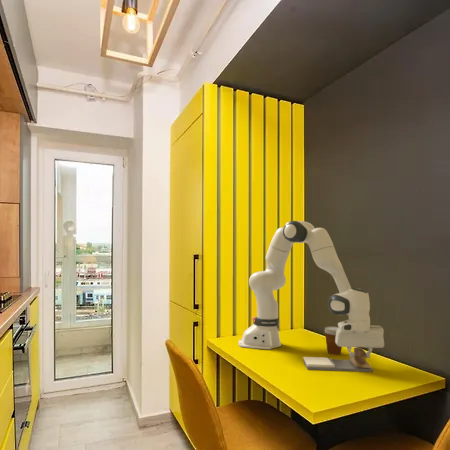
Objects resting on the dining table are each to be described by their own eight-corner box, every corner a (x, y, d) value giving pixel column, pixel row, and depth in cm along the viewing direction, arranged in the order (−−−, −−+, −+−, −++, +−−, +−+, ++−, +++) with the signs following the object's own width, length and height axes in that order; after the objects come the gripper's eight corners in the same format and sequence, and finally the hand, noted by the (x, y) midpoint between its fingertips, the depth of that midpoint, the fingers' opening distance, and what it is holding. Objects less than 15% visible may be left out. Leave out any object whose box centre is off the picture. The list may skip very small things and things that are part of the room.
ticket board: (307, 369, 151) (307, 364, 151) (303, 360, 163) (303, 355, 163) (372, 371, 149) (372, 366, 149) (363, 362, 161) (363, 357, 161)
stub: (356, 367, 150) (355, 352, 151) (349, 359, 160) (349, 346, 161) (370, 367, 150) (370, 353, 150) (363, 360, 160) (362, 346, 160)
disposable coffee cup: (322, 354, 172) (322, 329, 173) (326, 349, 181) (326, 325, 181) (342, 357, 168) (342, 331, 169) (345, 352, 176) (345, 327, 177)
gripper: (380, 324, 158) (381, 355, 158) (334, 322, 160) (334, 354, 159) (386, 327, 152) (386, 360, 151) (337, 326, 154) (337, 358, 153)
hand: (359, 357), depth 155 cm, fingers open, 5 cm apart
